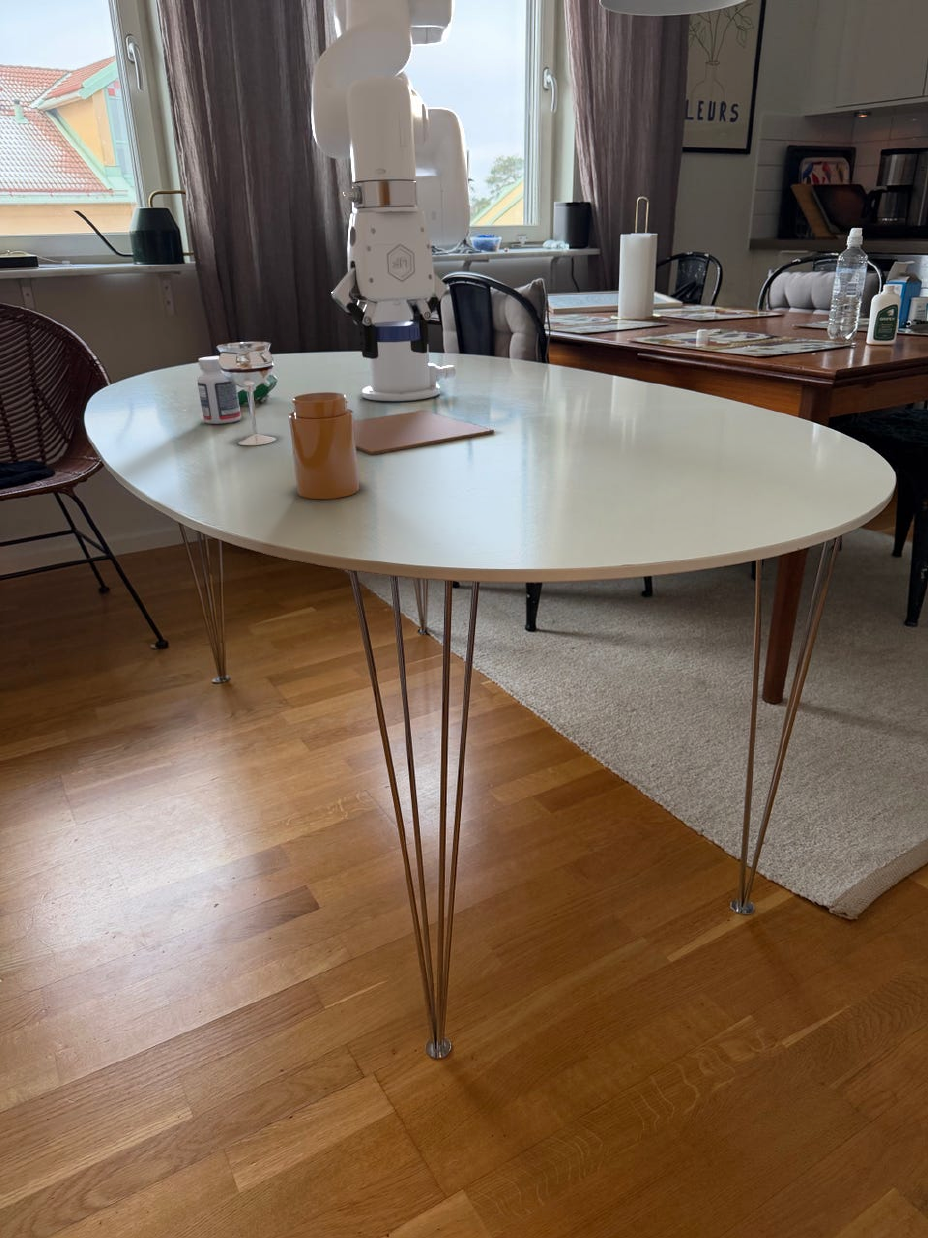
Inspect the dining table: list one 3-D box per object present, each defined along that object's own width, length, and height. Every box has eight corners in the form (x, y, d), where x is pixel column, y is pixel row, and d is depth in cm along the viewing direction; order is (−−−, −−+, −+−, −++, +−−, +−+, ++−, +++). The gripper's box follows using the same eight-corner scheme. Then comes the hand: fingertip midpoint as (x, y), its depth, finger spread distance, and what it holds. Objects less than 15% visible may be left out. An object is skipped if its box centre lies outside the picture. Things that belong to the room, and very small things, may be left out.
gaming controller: (248, 417, 135) (271, 389, 133) (228, 400, 134) (252, 372, 132) (261, 406, 143) (283, 380, 142) (243, 390, 142) (265, 363, 140)
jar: (342, 479, 93) (334, 388, 89) (370, 491, 88) (363, 396, 84) (287, 489, 90) (276, 396, 86) (313, 503, 85) (302, 405, 81)
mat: (422, 412, 125) (422, 410, 125) (494, 432, 111) (494, 429, 111) (309, 430, 116) (309, 427, 116) (372, 454, 103) (371, 451, 102)
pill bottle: (246, 416, 126) (237, 354, 123) (234, 424, 122) (224, 359, 118) (211, 417, 127) (202, 355, 123) (198, 424, 122) (188, 360, 119)
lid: (383, 343, 105) (382, 327, 104) (358, 339, 110) (357, 323, 109) (430, 339, 108) (429, 323, 107) (403, 335, 113) (403, 320, 112)
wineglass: (264, 432, 116) (252, 340, 111) (293, 439, 112) (282, 343, 107) (220, 441, 112) (205, 346, 107) (247, 449, 107) (234, 349, 102)
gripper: (333, 198, 95) (347, 364, 102) (463, 197, 104) (467, 351, 111) (305, 201, 101) (320, 359, 108) (430, 200, 109) (436, 346, 117)
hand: (395, 353), depth 109 cm, fingers closed on lid, 6 cm apart
